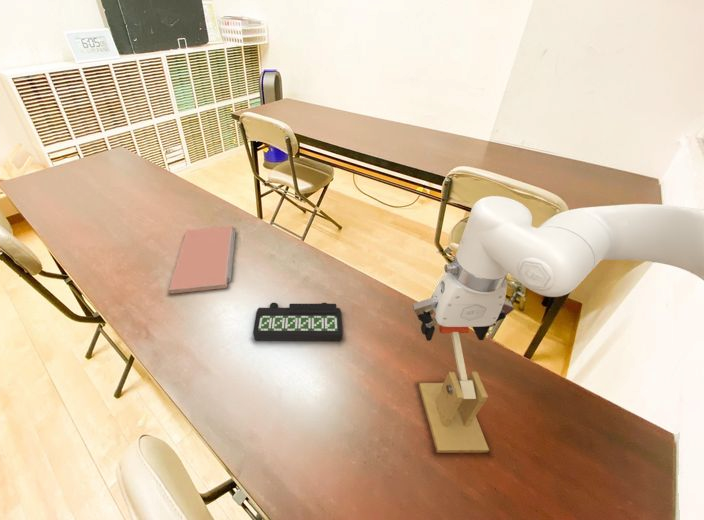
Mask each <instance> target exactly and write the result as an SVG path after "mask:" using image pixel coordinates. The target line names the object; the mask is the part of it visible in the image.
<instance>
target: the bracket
mask: <svg viewBox="0 0 704 520" xmlns="http://www.w3.org/2000/svg"><path fill="white" fill-rule="evenodd" d="M467 379H468V380H472V381H473V385H474V390H475V395H476V399H463V398H464V396H463V393H462V391H461V388H460V385H459V383H458V380H459V379H458V378H457V374H456V372H455V371H448V373H447V375H446V376H445V379H444V382H419V383H418V389H419V393H420V395H421V400H422V404H423V407H424V411H425V414H426V415H425V416H426V418H427V422H428V425H429V429H430V433H431V436H432V441H433V444H434V447H435V450H436V451H435V452H436V453H439V454H444V453H445V454H446V453H448V454H449V453H450V454H452V453H454V454H455V453H456V454H457V453H458V454H459V453H460V454H461V453H469V454H470V453H479V454H480V453H481V454H482V453H483V454H484V453H488V452H489V451H490V448H489V446H488V443H487V440H486V438H485V436H484V433H483V431H482V428H481V425H480V423H479V420H478V418H477V415H478V413H480V411H481V409H482V407H483V406H484V404H486V401H487V399H488V398H489V395H488V393H487V390H486V389H485V386H484V384H483V381H482V379H481V377H480V375H479V373H478V371H471V372H470V374H469V376H468V377H467Z"/></svg>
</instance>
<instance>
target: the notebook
mask: <svg viewBox="0 0 704 520" xmlns="http://www.w3.org/2000/svg"><path fill="white" fill-rule="evenodd" d="M235 242H236V230H235V229H234V226H233V225H227V226H215V227H206V228H194V229H186V230H185V233H184V237H183V241H182V243H181V248H180V251H179V254H178V257H177V261H176V263H175V268H174V271H173V274H172V277H171V281H170V283H169V288H168V291H169V294H171V295H172V294H180V293H181V294H182V293H191V292H199V291H209V290H220V289H227V288H228V283H229V282H231V280H232V274H233V273H232V272H233V261H234V253H235Z"/></svg>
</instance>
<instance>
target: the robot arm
mask: <svg viewBox="0 0 704 520" xmlns="http://www.w3.org/2000/svg"><path fill="white" fill-rule="evenodd" d="M604 260H606V261H607V260H608V261H609V260H611V261H613V260H614V261H635V262H648V263H649V262H650V263H655V264H656V263H657V264H661V265H662V264H663V265H666V266H667V265H668V266H671V267H675V268H677V269H681V270H684V271H686V272H689V273H690V274H692V275H695V277H698V278H699V279H700V280H702V281H704V209H703V208H694V207H685V206H678V205H669V204H659V203H629V204H613V205H598V206H588V207H579V208H573V209H567V210H565V211H561V212H559V213H556V214H555V215H553V216H551V217H549V218H548V219H546V220H545V221H544V222H543V223H542V224H540V225H539V226H538V227H534V226H533V214H532V213H531V211H530V209H529V208H528V207H527V206H525V204H523V203H521V202H520V201H518V200H516V199H513V198H510V197H506V196H501V195H490V196H489V195H488V196H484V197H482V198H480V199H478V200H476V202H475V203H474V204H473V206H472V207H471V210H470V212H469V215H468V218H467V221H466V224H465V227H464V230H463V232H462V235H461V239H460V242H459V243H458V247H457V250H456V252H455V256H454V257H453V259H452V262H450V263H448V264H447V263H446V264H444V267H443V268H444V273H443V274H442V276H441V278H440V279H439V281H438V283H437V285H436V287H435V289H434V291H433V295H432V297H430V298H428V299H423V300H420V301H418V302H414V303H413V304H412V308H413V311H414V314H415V315H416V316H417V319H418V320H419V321H420V322H421V325H420V330H421V333H422V335H424V337H425V339H426V342H430V341H431V340H432V339H433V337H434V333H435V330H436V327H435V326H436V325H439V326H440V325H441V326H446V327H469V328H472V329H473V331H474V333H475V335H476V338H477V340H479V341H484V339H485V337H486V336H487V334H488V332H489V330H490V328H493V327H495V326H496V323H497V322H499V321H501V320H504V319H505V318H506V315H509V314H511V312H513V311H515V308H516V307H515V306H514V305H513V303H512V302H511V301H510V300H507V299H506V296H507V291H508V280H507V279H506V278H507V276H508V274H510V275H511V276H512V277H513V278H514V279H515V280H516V281H517V282H519V283H520V284H521V285H523V286H524V287H525V288H527V289H528V290H530V291H532V292H533V293H536V294H537V295H540V296H543V297H548V298H559V297H563V296H566V295H568V294H570V293H572V291H574V290H576V288H578V286H579V285H580V284H581V283H582V282H583V281H584V280H585V279H586V278H587V276H589V274H590V273H591V272H593V270H594V269H595V268H596V267H597V265H599V263H601V261H604ZM433 314H434V315H435V316H434V317H432V315H433Z"/></svg>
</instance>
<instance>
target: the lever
mask: <svg viewBox="0 0 704 520" xmlns="http://www.w3.org/2000/svg"><path fill="white" fill-rule="evenodd" d="M438 329H439V333H440V334H450V337H451V342H452V347H453V353H454V358H455V364H456V370H457V375H458V379H457V380H458V383H459V385H460V388H461V391H462V393H463V396H464V398H463V399H476V395H475V390H474V385H473V381H472V380H468V374H467V369H466V364H465V359H464V355H463V349H462V348H463V347H462V343H461V338H460V334H468V333H470V327H446V326H441V325H439V328H438Z"/></svg>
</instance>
